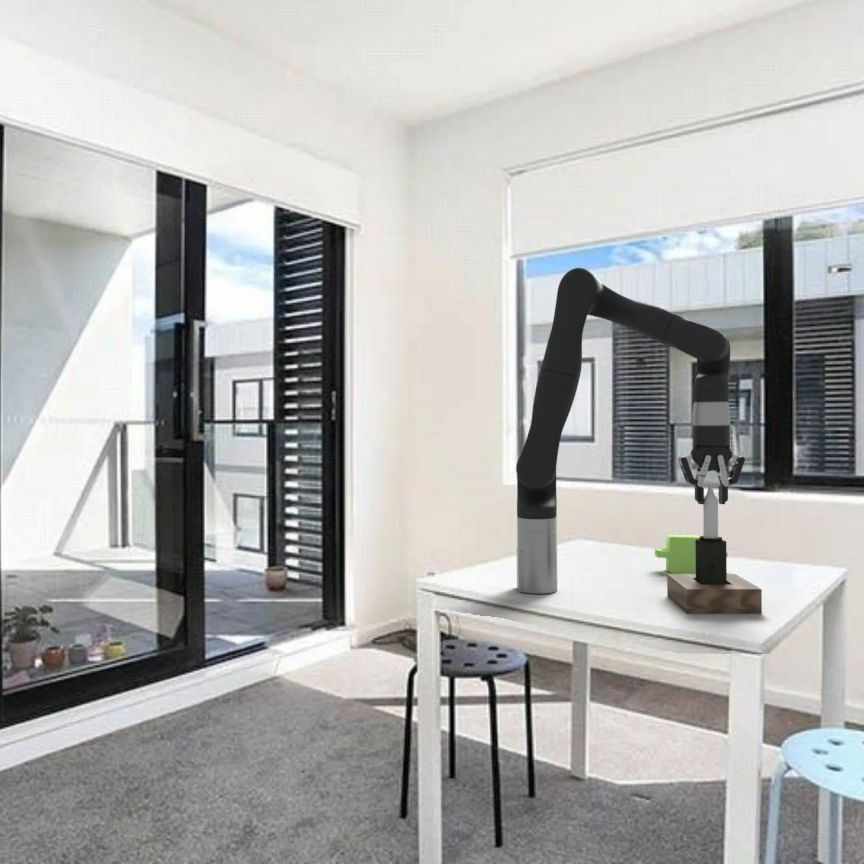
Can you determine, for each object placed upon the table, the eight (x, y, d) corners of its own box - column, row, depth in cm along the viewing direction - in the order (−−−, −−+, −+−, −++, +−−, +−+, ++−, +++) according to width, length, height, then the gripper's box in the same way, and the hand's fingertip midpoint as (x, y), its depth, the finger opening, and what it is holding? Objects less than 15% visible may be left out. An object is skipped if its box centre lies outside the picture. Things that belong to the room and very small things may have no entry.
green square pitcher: (723, 570, 196) (723, 534, 197) (733, 576, 186) (733, 539, 187) (653, 568, 199) (653, 532, 199) (659, 574, 189) (659, 536, 189)
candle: (693, 598, 160) (692, 482, 160) (712, 595, 162) (711, 481, 162) (709, 603, 156) (709, 484, 155) (729, 601, 157) (728, 483, 157)
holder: (686, 613, 152) (686, 589, 152) (667, 596, 167) (667, 573, 167) (761, 613, 151) (761, 589, 151) (735, 596, 166) (735, 573, 166)
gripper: (682, 424, 155) (682, 506, 155) (751, 423, 154) (752, 505, 154) (672, 423, 162) (672, 502, 163) (738, 423, 162) (738, 501, 162)
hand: (711, 503), depth 159 cm, fingers open, 4 cm apart
